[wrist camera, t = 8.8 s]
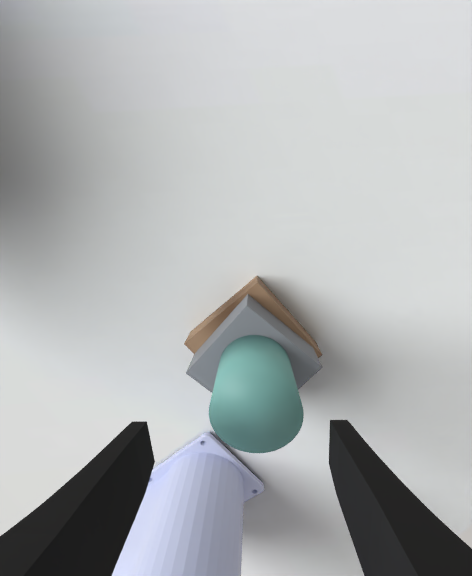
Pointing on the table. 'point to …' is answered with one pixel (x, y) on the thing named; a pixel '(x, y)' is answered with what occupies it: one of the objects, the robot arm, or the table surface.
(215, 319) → the walnut base block
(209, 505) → the robot arm
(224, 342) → the grey top block
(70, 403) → the table surface
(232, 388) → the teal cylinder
